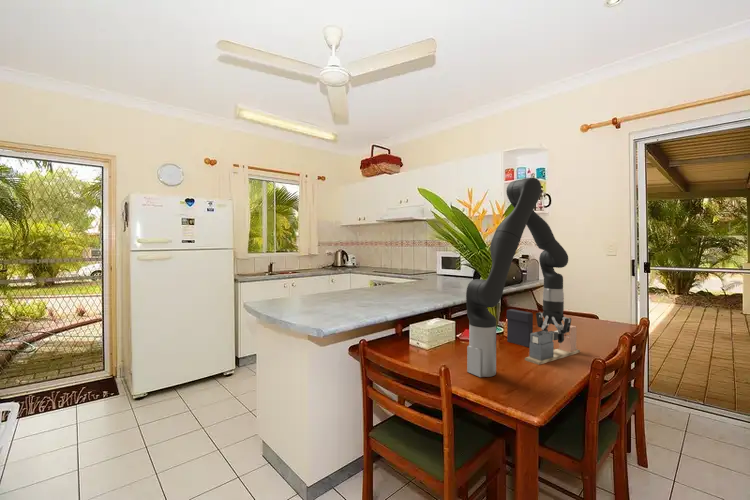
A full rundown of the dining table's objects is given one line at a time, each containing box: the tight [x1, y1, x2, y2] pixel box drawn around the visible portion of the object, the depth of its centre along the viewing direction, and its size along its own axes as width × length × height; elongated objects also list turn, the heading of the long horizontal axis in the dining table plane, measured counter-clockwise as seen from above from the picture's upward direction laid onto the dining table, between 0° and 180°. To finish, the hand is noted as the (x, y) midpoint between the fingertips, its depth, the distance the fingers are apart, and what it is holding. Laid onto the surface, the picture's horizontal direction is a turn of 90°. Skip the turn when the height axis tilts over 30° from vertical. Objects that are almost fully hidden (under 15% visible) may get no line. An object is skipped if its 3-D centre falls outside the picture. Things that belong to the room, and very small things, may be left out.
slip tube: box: [532, 329, 559, 344], centre depth 141 cm, size 17×3×3 cm, turn 121°
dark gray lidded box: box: [506, 308, 534, 348], centre depth 160 cm, size 11×4×15 cm, turn 34°
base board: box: [524, 347, 581, 366], centre depth 143 cm, size 28×6×1 cm, turn 121°
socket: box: [558, 323, 577, 352], centre depth 148 cm, size 4×5×10 cm
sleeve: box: [528, 330, 555, 361], centre depth 139 cm, size 8×5×10 cm, turn 121°
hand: (552, 340), depth 142 cm, fingers open, 5 cm apart
